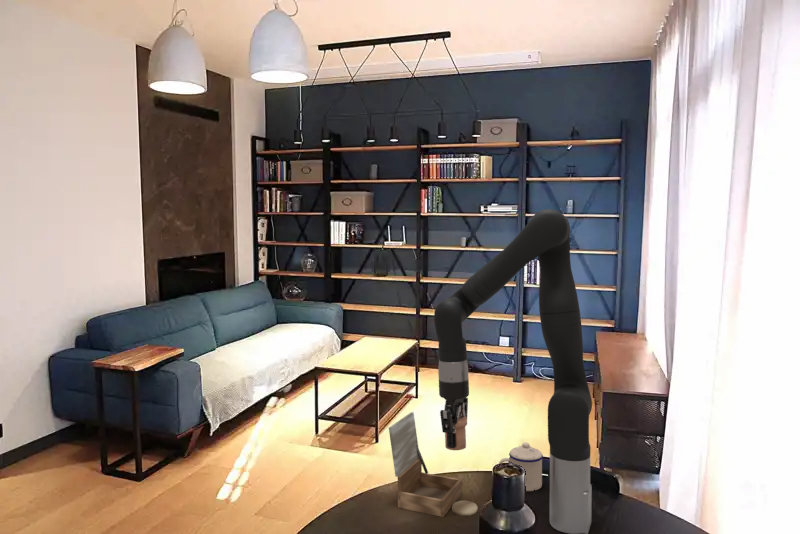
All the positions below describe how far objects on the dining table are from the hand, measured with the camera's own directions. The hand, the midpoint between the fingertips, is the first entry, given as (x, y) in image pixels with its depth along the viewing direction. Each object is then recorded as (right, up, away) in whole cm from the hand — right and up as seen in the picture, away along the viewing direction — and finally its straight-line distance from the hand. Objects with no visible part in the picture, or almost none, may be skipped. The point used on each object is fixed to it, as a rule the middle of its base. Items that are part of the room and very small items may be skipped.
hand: (455, 443), depth 147 cm
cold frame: (-7, -16, +5) cm, 19 cm away
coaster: (+2, -17, 0) cm, 17 cm away
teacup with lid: (+19, -16, +14) cm, 28 cm away
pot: (0, -1, 0) cm, 1 cm away
